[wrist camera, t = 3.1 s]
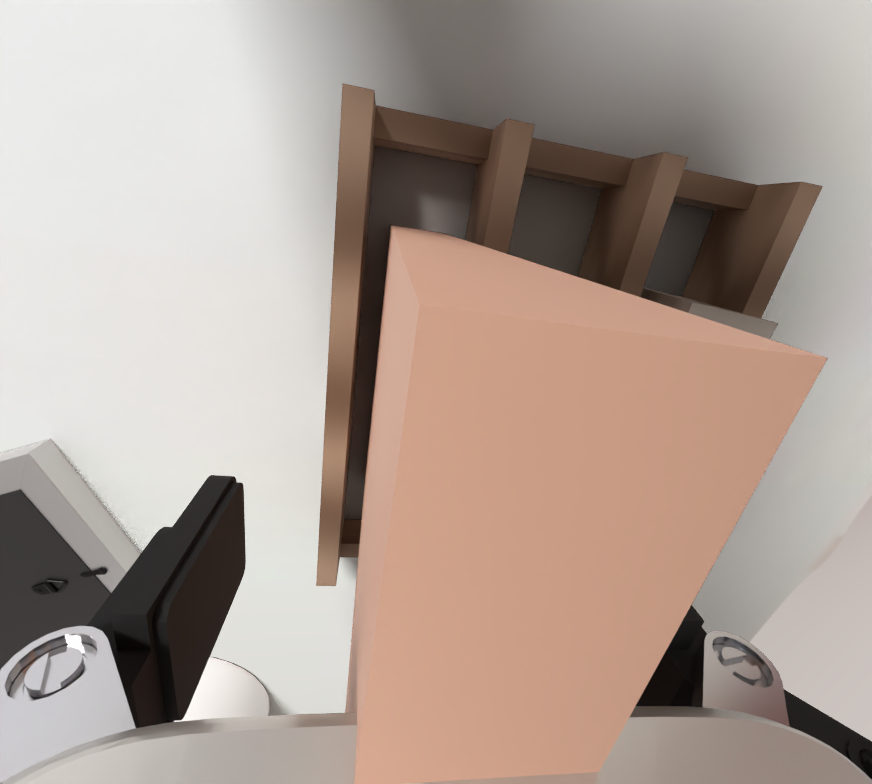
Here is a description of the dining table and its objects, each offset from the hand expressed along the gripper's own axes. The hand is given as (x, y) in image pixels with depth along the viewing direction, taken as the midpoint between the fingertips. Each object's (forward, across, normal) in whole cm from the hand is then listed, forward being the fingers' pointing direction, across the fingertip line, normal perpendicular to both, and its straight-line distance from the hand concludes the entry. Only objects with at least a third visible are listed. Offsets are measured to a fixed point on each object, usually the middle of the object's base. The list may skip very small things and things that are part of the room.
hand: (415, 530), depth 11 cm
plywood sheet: (+11, 0, -1) cm, 11 cm away
